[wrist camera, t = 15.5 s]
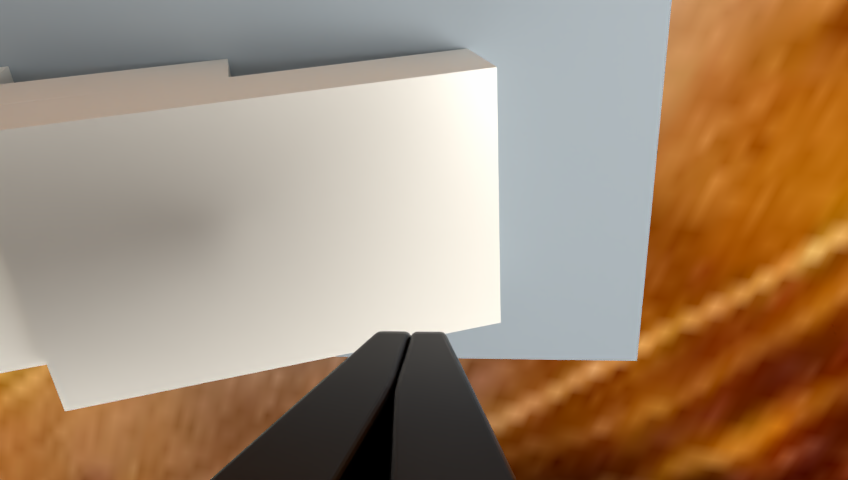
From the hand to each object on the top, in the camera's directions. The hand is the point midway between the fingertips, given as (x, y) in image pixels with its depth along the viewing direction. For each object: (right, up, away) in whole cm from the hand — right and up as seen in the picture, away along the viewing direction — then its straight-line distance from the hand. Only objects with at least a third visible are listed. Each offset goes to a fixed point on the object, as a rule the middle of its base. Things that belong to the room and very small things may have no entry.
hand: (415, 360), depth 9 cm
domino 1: (+1, +2, +5) cm, 5 cm away
